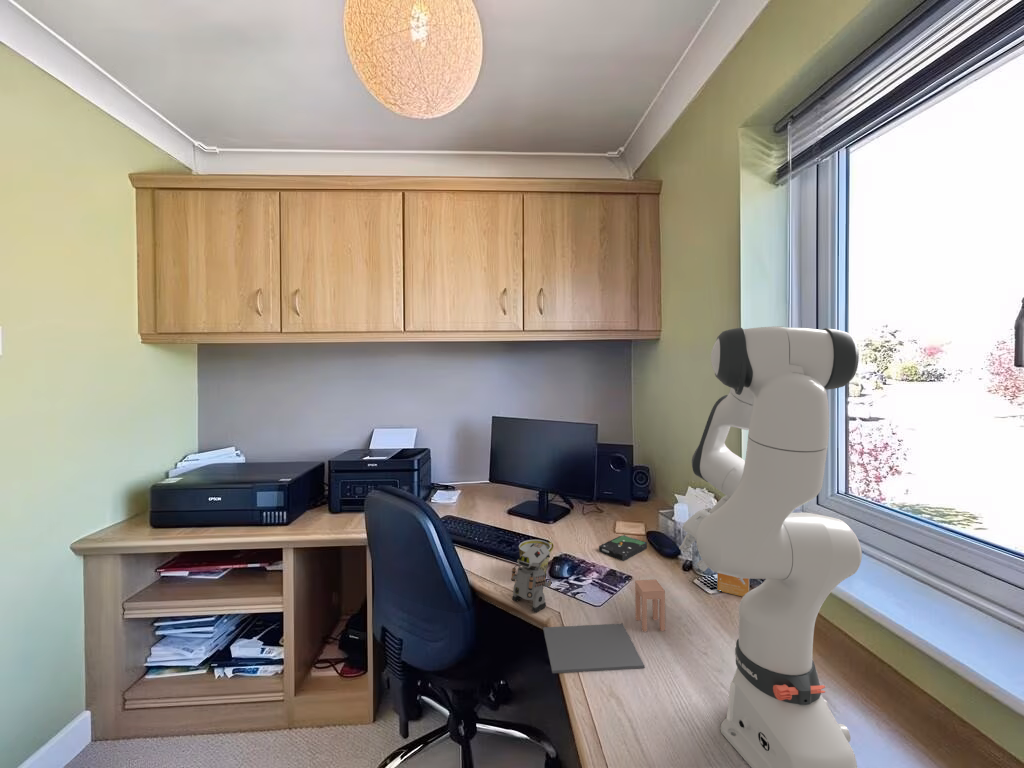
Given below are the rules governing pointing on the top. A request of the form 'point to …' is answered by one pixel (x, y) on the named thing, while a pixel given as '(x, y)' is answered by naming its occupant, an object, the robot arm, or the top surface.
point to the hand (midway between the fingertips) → (690, 559)
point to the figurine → (531, 576)
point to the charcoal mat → (590, 648)
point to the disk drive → (623, 547)
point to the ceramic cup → (526, 546)
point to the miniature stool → (654, 592)
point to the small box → (732, 584)
